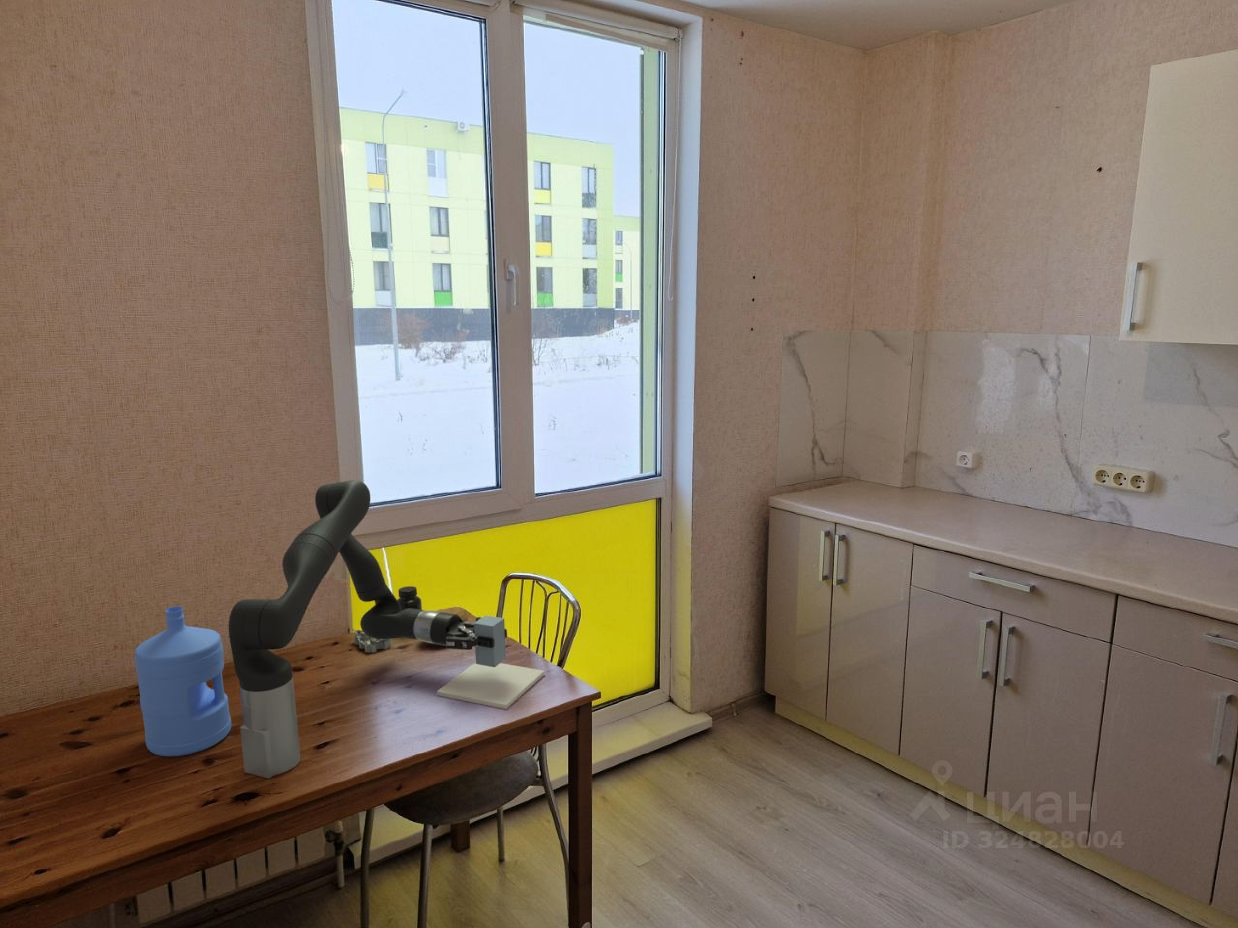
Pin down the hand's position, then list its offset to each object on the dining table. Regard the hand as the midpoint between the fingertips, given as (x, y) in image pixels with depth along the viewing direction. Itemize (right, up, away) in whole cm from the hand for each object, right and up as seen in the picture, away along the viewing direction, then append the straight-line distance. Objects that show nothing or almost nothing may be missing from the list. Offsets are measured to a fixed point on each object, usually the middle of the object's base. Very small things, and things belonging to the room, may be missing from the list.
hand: (499, 638), depth 184 cm
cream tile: (-2, -11, +3) cm, 12 cm away
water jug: (-61, -17, -19) cm, 66 cm away
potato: (-19, -7, +29) cm, 36 cm away
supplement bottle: (-30, -6, +35) cm, 47 cm away
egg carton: (-37, -8, +27) cm, 47 cm away
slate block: (-2, -6, +2) cm, 7 cm away
